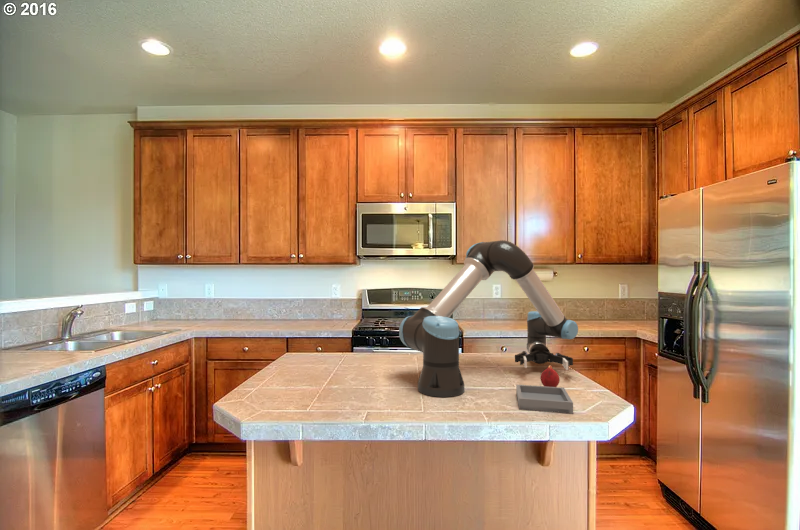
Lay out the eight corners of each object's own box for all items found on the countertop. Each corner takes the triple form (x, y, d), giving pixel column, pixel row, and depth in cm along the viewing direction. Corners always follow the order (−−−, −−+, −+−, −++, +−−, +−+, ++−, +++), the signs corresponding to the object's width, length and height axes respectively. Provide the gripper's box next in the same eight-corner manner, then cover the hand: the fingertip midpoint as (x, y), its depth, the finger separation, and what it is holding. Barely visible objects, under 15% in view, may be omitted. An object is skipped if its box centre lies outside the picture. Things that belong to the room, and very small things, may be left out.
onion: (557, 394, 120) (557, 368, 120) (538, 391, 123) (538, 366, 123) (561, 389, 125) (560, 364, 125) (542, 386, 128) (542, 362, 128)
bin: (573, 413, 103) (573, 402, 103) (519, 409, 107) (519, 398, 107) (564, 397, 117) (563, 387, 117) (516, 394, 120) (516, 384, 120)
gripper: (572, 363, 151) (585, 378, 131) (507, 360, 157) (509, 373, 137) (572, 344, 151) (584, 355, 131) (507, 342, 157) (509, 352, 137)
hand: (546, 364), depth 134 cm, fingers open, 13 cm apart
